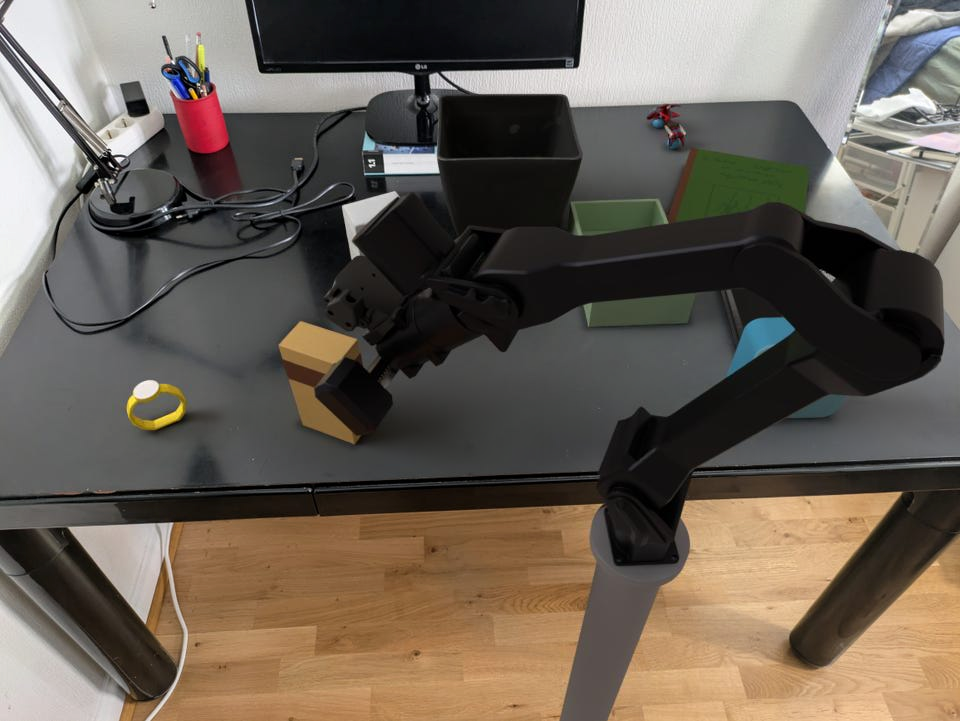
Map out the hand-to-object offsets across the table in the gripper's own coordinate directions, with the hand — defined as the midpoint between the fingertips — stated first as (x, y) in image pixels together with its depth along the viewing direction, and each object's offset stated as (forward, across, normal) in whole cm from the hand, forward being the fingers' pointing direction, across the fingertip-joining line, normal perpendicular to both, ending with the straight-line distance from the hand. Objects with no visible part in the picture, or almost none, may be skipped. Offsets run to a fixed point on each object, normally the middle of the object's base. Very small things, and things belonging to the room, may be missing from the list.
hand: (349, 368), depth 71 cm
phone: (-20, -37, +35) cm, 54 cm away
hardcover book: (-15, -60, +30) cm, 69 cm away
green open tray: (-6, -39, +21) cm, 45 cm away
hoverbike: (-4, -81, +18) cm, 83 cm away
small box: (+16, -27, -1) cm, 31 cm away
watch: (+23, +8, -8) cm, 25 cm away
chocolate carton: (+10, 0, +5) cm, 11 cm away
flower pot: (+8, -44, +7) cm, 45 cm away
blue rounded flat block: (-23, -23, +38) cm, 50 cm away
